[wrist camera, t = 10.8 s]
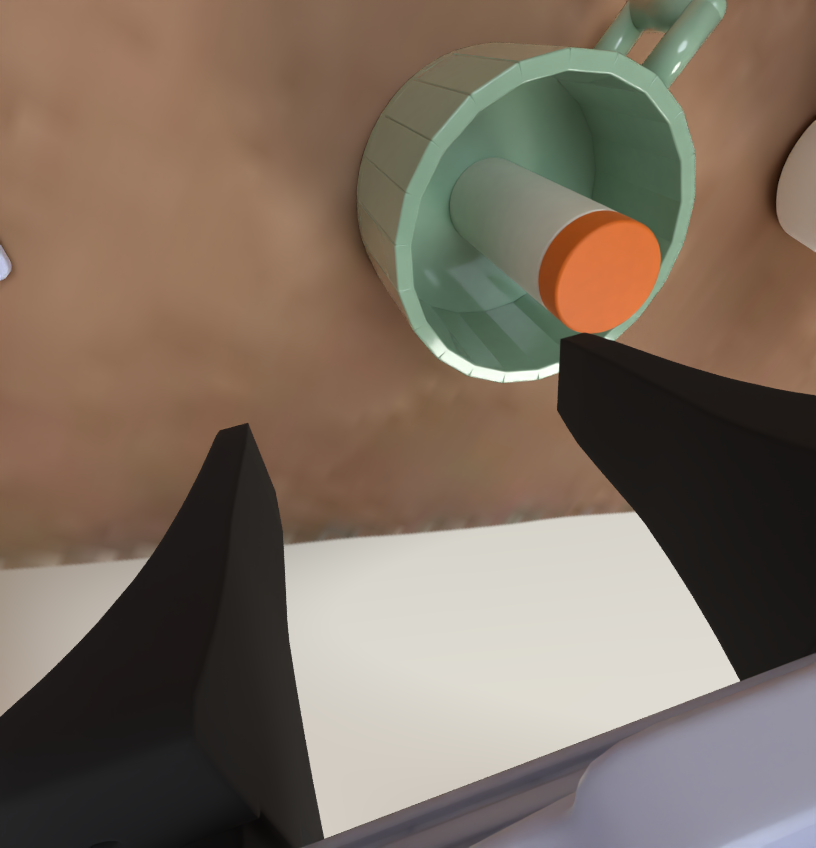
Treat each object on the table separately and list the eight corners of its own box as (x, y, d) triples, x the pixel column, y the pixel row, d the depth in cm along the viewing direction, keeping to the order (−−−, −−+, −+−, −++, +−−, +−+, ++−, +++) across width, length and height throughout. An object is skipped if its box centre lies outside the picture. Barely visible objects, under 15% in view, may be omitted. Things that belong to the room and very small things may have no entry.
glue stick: (452, 250, 21) (552, 346, 15) (445, 166, 19) (557, 235, 13) (524, 233, 21) (652, 319, 15) (525, 149, 19) (671, 208, 13)
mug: (488, 353, 25) (546, 421, 20) (303, 237, 20) (328, 296, 15) (694, 98, 21) (820, 117, 16) (529, -135, 15) (649, -195, 11)
